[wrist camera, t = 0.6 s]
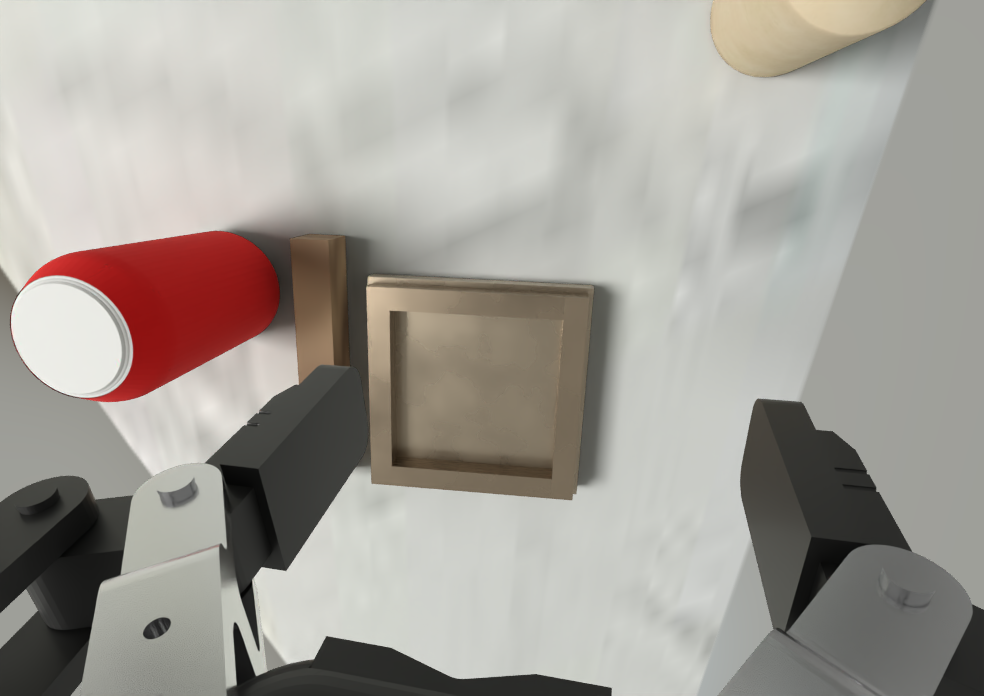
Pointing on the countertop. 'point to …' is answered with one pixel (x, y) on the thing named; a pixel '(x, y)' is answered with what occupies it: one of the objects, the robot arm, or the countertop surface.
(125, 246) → the beverage can
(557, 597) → the countertop surface
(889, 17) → the candle
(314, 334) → the sill
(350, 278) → the countertop surface
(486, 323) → the tray
